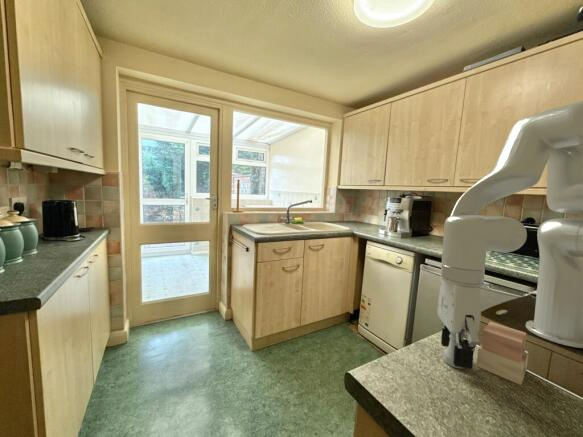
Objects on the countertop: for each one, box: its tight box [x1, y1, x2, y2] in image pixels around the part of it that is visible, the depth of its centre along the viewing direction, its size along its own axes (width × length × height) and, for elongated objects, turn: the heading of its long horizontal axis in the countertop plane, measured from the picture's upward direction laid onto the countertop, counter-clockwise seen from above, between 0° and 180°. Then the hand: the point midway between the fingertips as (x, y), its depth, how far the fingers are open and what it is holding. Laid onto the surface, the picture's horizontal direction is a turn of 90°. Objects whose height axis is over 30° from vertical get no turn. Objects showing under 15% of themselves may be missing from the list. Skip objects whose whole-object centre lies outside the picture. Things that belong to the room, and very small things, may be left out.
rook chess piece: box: [442, 329, 466, 370], centre depth 53 cm, size 4×4×8 cm
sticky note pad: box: [476, 321, 529, 386], centre depth 52 cm, size 7×7×8 cm
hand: (455, 355), depth 53 cm, fingers open, 6 cm apart
